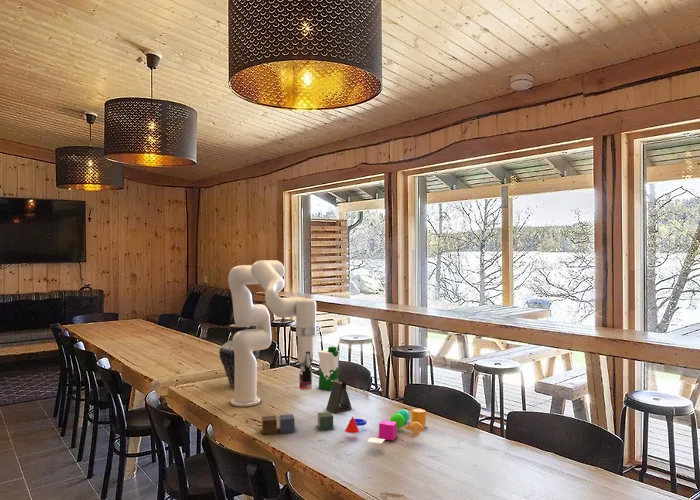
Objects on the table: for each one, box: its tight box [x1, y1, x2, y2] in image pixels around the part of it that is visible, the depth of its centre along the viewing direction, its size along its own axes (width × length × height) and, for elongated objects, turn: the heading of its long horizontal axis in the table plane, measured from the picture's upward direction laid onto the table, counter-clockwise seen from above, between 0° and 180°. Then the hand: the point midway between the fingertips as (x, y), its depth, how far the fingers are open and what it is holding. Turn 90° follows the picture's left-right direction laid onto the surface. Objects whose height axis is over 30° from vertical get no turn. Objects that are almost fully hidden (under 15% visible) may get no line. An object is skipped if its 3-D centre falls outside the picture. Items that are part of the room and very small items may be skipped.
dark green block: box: [317, 411, 334, 431], centre depth 190 cm, size 5×5×5 cm
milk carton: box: [317, 346, 341, 392], centre depth 245 cm, size 9×9×20 cm
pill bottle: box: [298, 366, 313, 392], centre depth 191 cm, size 5×5×8 cm
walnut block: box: [261, 415, 278, 436], centre depth 185 cm, size 5×5×5 cm
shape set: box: [344, 408, 427, 444], centre depth 183 cm, size 29×35×7 cm
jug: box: [218, 323, 261, 388], centre depth 249 cm, size 21×19×30 cm
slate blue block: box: [279, 413, 296, 434], centre depth 187 cm, size 5×5×5 cm
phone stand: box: [325, 379, 353, 414], centre depth 212 cm, size 9×6×12 cm, turn 127°
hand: (305, 379), depth 191 cm, fingers closed on pill bottle, 4 cm apart
